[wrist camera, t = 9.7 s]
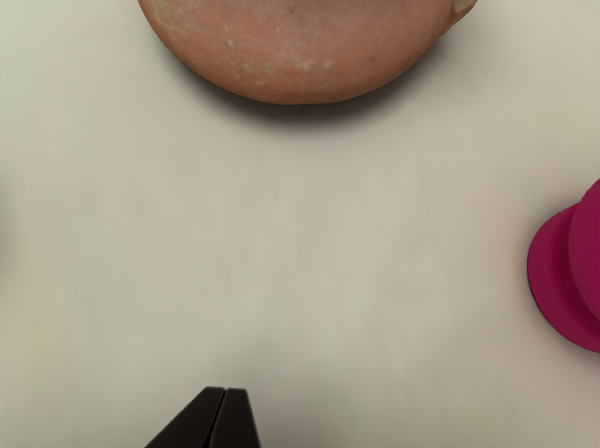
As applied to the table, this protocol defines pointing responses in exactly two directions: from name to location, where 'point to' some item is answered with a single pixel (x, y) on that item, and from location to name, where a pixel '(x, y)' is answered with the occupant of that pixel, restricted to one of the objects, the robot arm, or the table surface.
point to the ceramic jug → (301, 43)
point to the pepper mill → (570, 270)
